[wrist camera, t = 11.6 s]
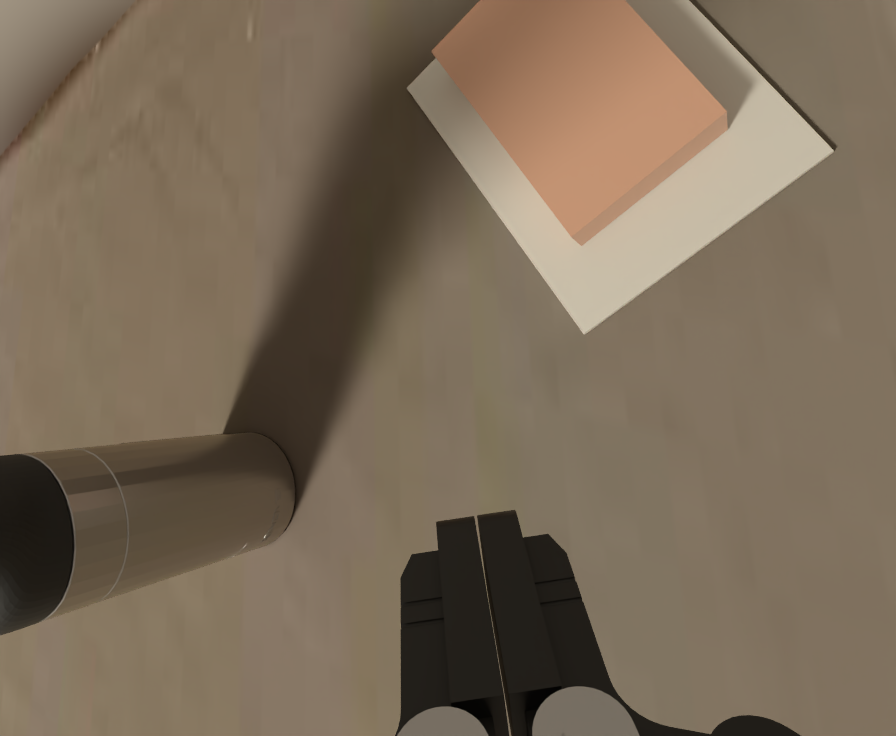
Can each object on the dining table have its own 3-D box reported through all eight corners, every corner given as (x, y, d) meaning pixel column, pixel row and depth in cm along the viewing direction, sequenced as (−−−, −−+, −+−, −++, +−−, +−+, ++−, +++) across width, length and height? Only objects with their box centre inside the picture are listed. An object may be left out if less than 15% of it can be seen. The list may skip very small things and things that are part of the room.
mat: (833, 152, 32) (834, 150, 31) (585, 334, 37) (583, 334, 37) (591, -99, 38) (590, -102, 37) (408, 89, 43) (406, 87, 43)
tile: (726, 111, 31) (554, -77, 36) (571, 237, 35) (431, 51, 39) (727, 130, 34) (565, -48, 38) (582, 246, 37) (448, 70, 41)
